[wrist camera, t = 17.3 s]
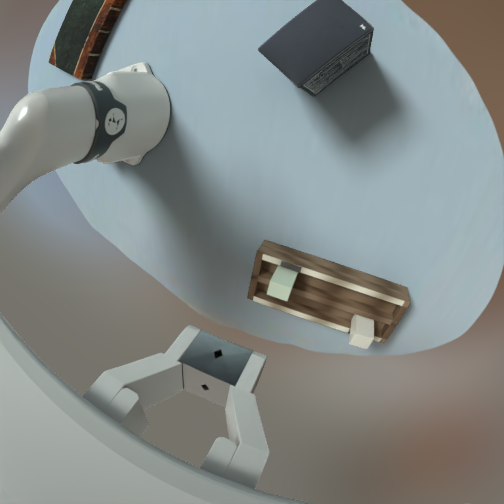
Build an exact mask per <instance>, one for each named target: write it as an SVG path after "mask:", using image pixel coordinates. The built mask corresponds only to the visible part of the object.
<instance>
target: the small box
mask: <svg viewBox="0 0 504 504" xmlns="http://www.w3.org/2000/svg"><path fill="white" fill-rule="evenodd" d="M373 30H374V27H373V26H372V25H371V24H369V23H368V22H367V21H366V20H365V19H364V18H363V17H361V16H360V15H359V14H358V13H357V12H356V11H354V10H353V9H352V8H351V7H350V6H348V5H347V4H346V3H344V2H343V1H342V0H316V1H315V2H314V3H312V4H311V5H310V6H308V7H307V8H306V9H304V10H303V11H302V12H301V13H299V14H298V15H297V16H295V17H294V18H293V19H292V20H291V21H289V22H288V23H287V24H286V25H284V26H283V27H282V28H281V29H280V30H279V31H277V32H276V33H275V34H274V35H273V36H272V37H270V38H269V39H268V40H267V41H266V42H265V43H264V44H263V45H261V46H260V47H259V48H258V51H259V52H260V53H261V54H262V55H263V56H264V57H266V58H267V59H268V60H269V61H270V62H271V63H272V64H273V65H274V66H276V67H277V68H278V69H279V70H280V71H281V72H282V73H283V74H284V75H285V76H286V77H287V78H288V79H290V80H291V81H292V82H293V83H294V84H295V85H296V86H297V87H299V88H302V89H303V90H305V91H307V92H308V93H310V94H311V95H312V96H316V95H317V94H318V93H319V92H320V91H322V90H323V89H324V88H325V87H327V86H328V85H329V84H330V83H332V82H333V81H334V80H336V79H337V78H338V77H339V76H341V75H342V74H343V73H345V72H346V71H347V70H349V69H350V68H352V67H353V66H354V65H355V64H357V63H358V62H359V61H361V60H362V59H363V58H364V57H366V56H367V55H369V54H370V47H371V42H372V36H373Z"/></svg>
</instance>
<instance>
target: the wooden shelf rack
mask: <svg viewBox="0 0 504 504" xmlns="http://www.w3.org/2000/svg"><path fill="white" fill-rule="evenodd" d="M278 265H280V266H282V267H285V268H288V269H291V270H293V271H296V272H298V274H297V278H296V281H295V283H294V286H293V288H292V291H291V293H290V296H289V298H288V301H284V300H281V299H278V298H276V297H273V296H270V295H267V291H268V287H269V283H270V280H271V278H272V276H273V274H274V272H275V271H276V269H277V267H278ZM247 298H248V299H251V300H253V301H255V302H258V303H261V304H264V305H267V306H269V307H272V308H275V309H278V310H281V311H284V312H287V313H289V314H292V315H295V316H298V317H301V318H304V319H307V320H310V321H313V322H316V323H319V324H322V325H325V326H328V327H331V328H334V329H338V330H341V331H344V332H347V333H349V334H350V329H351V319H352V318H353V316H354V314H357V315H360V316H363V317H366V318H369V319H372V320H374V339H373V341H377V342H381V343H385V342H386V340H387V339H388V337H389V336H390V334H391V333H392V331H393V330H394V328H395V327H396V325H397V324H398V322H399V320H400V319H401V317H402V316H403V314H404V313H405V311H406V309H407V308H408V306H409V304H410V298H409V293H408V288H407V287H405V286H402V285H399V284H396V283H393V282H390V281H387V280H384V279H381V278H379V277H376V276H373V275H370V274H367V273H364V272H361V271H358V270H355V269H352V268H349V267H346V266H343V265H340V264H337V263H334V262H331V261H328V260H325V259H322V258H319V257H316V256H313V255H310V254H307V253H304V252H301V251H298V250H295V249H292V248H289V247H286V246H282V245H279V244H276V243H273V242H270V241H267V240H265V241H264V242H263V243H262V245H261V246H260V248H259V249H258V250H257V253H256V258H255V263H254V267H253V272H252V277H251V282H250V287H249V292H248V297H247Z"/></svg>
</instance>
